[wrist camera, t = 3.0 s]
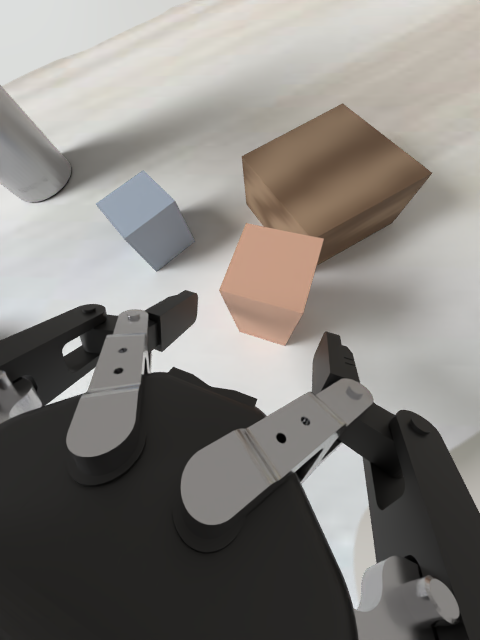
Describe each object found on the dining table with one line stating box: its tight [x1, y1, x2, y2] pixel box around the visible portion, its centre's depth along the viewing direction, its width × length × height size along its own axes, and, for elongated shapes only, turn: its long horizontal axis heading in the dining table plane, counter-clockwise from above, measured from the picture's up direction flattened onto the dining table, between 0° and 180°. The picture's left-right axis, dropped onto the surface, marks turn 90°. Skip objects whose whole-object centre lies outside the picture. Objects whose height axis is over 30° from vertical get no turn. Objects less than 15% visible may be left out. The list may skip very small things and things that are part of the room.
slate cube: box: [96, 171, 195, 271], centre depth 23 cm, size 6×6×6 cm
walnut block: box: [242, 104, 432, 266], centre depth 22 cm, size 12×12×6 cm
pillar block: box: [219, 223, 324, 346], centre depth 16 cm, size 5×5×10 cm
